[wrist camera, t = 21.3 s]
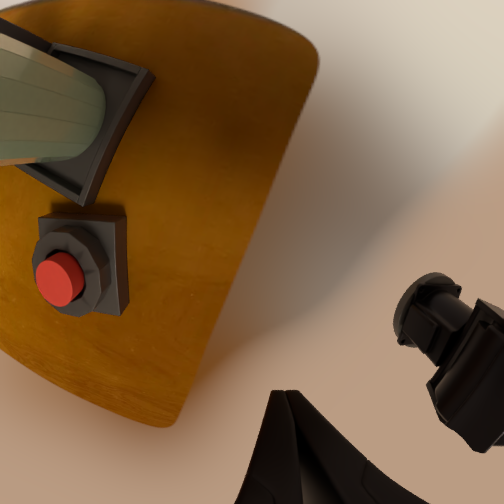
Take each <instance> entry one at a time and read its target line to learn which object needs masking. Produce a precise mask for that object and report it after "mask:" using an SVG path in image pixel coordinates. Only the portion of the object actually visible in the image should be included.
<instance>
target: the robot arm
mask: <svg viewBox="0 0 504 504" xmlns="http://www.w3.org/2000/svg"><path fill="white" fill-rule="evenodd" d="M420 289H421V290H420ZM461 290H462V288H461V286H459V285H457V284H435V283H419V284H418V285H417V286H416V289H415V292H414V295H413V298H412V301H411V304H410V307H409V310H408V313H407V316H406V319H405V321H404V324H403V327H402V329H401V332H400V334H399V337H398V340H397V342H398V344H399V345H412V344H415V345H416V346H417V347H418V348H419V350H420V351H421V352H422V353H423V354H426V356H427V357H428V358H429V359H430V360H431V361H432V362H433V364H434V365H435V366H436V367H437V366H439V369H438V370H437V372H436V373H435V374H434V376H433V377H432V378H431V380H429V381H428V382H427V384H426V386H427V389H428V391H429V394H430V396H431V399H432V402H433V405H434V407H435V410H436V413H437V415H438V418H439V420H440V421H441V422H442V423H443V424H445V425H446V426H447V427H448V428H450V429H451V430H454V431H455V432H456V433H458V434H459V435H460V436H461V437H462V438H463V439H464V440H465V441H466V443H467V444H468V445H469V446H470V447H471V449H472V450H473V451H476V452H479V453H486V452H487V451H488V450H489V449H490V448H491V447H492V446H504V311H503V310H502V309H500V308H499V307H496V306H494V305H492V304H490V303H488V302H486V301H483V300H481V299H479V298H478V300H477V301H476V305H475V307H474V309H472V308H470V307H469V306H468V305H466V304H465V303H463V302H462V301H461V300H459V295H460V293H461ZM234 504H429V503H427V502H426V501H424V500H422V499H421V498H419V497H417V496H416V495H414V494H412V493H411V492H409V491H408V490H406V489H405V488H403V487H402V486H400V485H399V484H397V483H396V482H395V481H393V480H392V479H390V478H389V477H388V476H386V475H385V474H384V473H383V472H382V471H380V470H379V469H378V468H377V467H376V466H375V465H374V464H373V463H371V462H370V461H369V460H367V458H366V457H365V456H364V455H363V454H362V453H360V452H359V451H358V450H357V449H356V448H355V447H354V446H353V445H352V444H351V443H350V442H349V441H348V440H347V439H346V438H345V437H344V436H343V435H342V434H341V433H340V432H339V431H338V430H336V428H335V427H334V426H333V425H332V424H331V423H330V422H329V421H327V419H326V418H325V417H324V416H323V415H322V414H321V413H320V412H319V411H318V410H317V409H316V408H315V407H314V406H313V405H312V404H311V403H310V402H309V401H308V400H307V399H306V398H305V397H304V396H303V395H302V394H301V393H300V392H299V391H298V390H286V391H283V390H272V391H271V393H270V397H269V401H268V404H267V407H266V411H265V415H264V418H263V421H262V425H261V428H260V431H259V435H258V438H257V441H256V445H255V448H254V451H253V454H252V457H251V461H250V463H249V467H248V470H247V473H246V475H245V478H244V481H243V484H242V487H241V489H240V492H239V494H238V497H237V499H236V501H235V503H234Z"/></svg>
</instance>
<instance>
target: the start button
mask: <svg viewBox="0 0 504 504" xmlns="http://www.w3.org/2000/svg"><path fill="white" fill-rule="evenodd" d="M36 282H37V285H38V288H39V290H40V292H41V294H42V295H43V297H44V298H45V299H46V300H47V301H48V302H49V303H51V304H53V305H55V306H59V307H62V306H65V305H67V304H68V303H69V302H70V301H71V300H73V299H74V298H75V297H76V296H77V295H78V294H79V293H80V292H81V290H82V289H83V286H84V274H83V271H82V268H81V266H80V264H79V263H78V261H77V260H76V259H75V258H74V257H73V256H72V255H70V254H68V253H65V252H58V253H56V254H54V255H52V256H51V257H49V258H48V259H46V260H44V261H43V262H41V263H40V264H39V266H38V268H37V271H36Z"/></svg>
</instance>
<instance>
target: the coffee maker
mask: <svg viewBox="0 0 504 504" xmlns="http://www.w3.org/2000/svg"><path fill="white" fill-rule="evenodd" d="M0 33H3V34H5V35H8V36H10V37H12V38H15V39H17V40H19V41H21V42H24V43H26V44H28V45H30V46H32V47H34V48H37V49H39V50H41V51H43V52H45V53H47V54H49V55H51V56H53V57H55V58H57V59H59V60H61V61H63V62H65V63H67V64H69V65H71V66H73V67H75V68H76V69H78V70H80V71H82V72H84V73H86V74H87V75H89V76H91V77H93V78H94V79H96V80H97V81H98V82H99V83H100V85H101V87H102V88H103V91H104V94H105V100H106V110H105V116H104V121H103V124H102V126H101V129H100V131H99V133H98V135H97V137H96V138H95V140H94V141H93V142H92V144H91V145H90V146H89V147H88V148H87V149H86V150H85V151H84V152H83V153H81V154H80V155H78V156H77V157H74V158H72V159H69V160H63V161H56V162H39V163H26V164H15V166H16V167H18V168H19V169H21V170H22V171H24V172H26V173H27V174H29V175H31V176H32V177H34V178H35V179H37V180H39V181H40V182H42V183H44V184H45V185H47V186H49V187H50V188H52V189H54V190H55V191H57V192H59V193H60V194H62V195H64V196H65V197H67V198H69V199H70V200H72V201H74V202H76V203H78V204H79V205H81V206H86V205H90V204H93V203H94V202H95V199H96V197H97V194H98V191H99V189H100V186H101V184H102V181H103V179H104V176H105V174H106V172H107V169H108V167H109V165H110V162H111V160H112V158H113V156H114V153H115V151H116V149H117V147H118V145H119V143H120V141H121V139H122V137H123V135H124V133H125V131H126V129H127V127H128V125H129V123H130V121H131V119H132V117H133V115H134V113H135V112H136V110H137V108H138V106H139V104H140V103H141V101H142V99H143V97H144V96H145V94H146V92H147V91H148V89H149V87H150V86H151V84H152V82H153V81H154V79H155V76H154V75H153V74H152V73H151V72H150V71H149V69H146V68H142V67H140V66H137V65H134V64H132V63H129V62H126V61H122V60H119V59H116V58H113V57H110V56H106V55H103V54H99V53H96V52H92V51H88V50H85V49H81V48H77V47H72V46H68V45H63V44H59V43H54V42H53V43H52V44H51V43H49V42H48V41H46V40H44V39H42V38H40V37H38V36H36V35H35V34H33V33H31V32H29V31H27V30H25V29H23V28H21V27H19V26H17V25H15V24H13V23H11V22H9V21H6V20H4V19H2V18H0Z"/></svg>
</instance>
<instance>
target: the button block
mask: <svg viewBox="0 0 504 504" xmlns="http://www.w3.org/2000/svg"><path fill="white" fill-rule="evenodd" d="M38 223H39V237H40V240H39V241H38V242H37V244H36V247H35V251H34V254H33V258H32V265H33V272H34V278H35V282H36V271H37V268H38V266H39V264H40V263H41V262H43V261H44V260H46V259H48V258H49V257H51V256H52V255H54V254H56V253H58V252H65V253H68V254H70V255H72V256H73V257H74V258H75V259H76V260H77V261H78V263H79V264H80V266H81V268H82V271H83V274H84V286H83V289H82V290H81V292H80V293H79V294H78V295H77V296H76V297H75V298H74V299H73V300H71V301H70V302H69V303H68V304H67V305H65V306H62V307H59V306H55V305H53V304H51V303H49V302H48V301H47V300H46V299H45V300H46V301H47V302H48V303H49V304H51V305H52V306H53V307H54V308H55V309H57V310H58V311H59V312H60V313H63V314H67V315H72V316H76V317H81V316H83V315H85V314H87V313H89V312H91V311H94V312H100V313H105V314H111V315H117V316H121V314H122V313H123V311H124V310H125V308H126V307H127V305H128V304H129V292H128V276H127V250H126V216H115V215H98V214H80V213H60V212H53V213H50V214H47V215H44V216H41V217H39V218H38ZM36 284H37V282H36ZM37 286H38V285H37Z"/></svg>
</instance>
